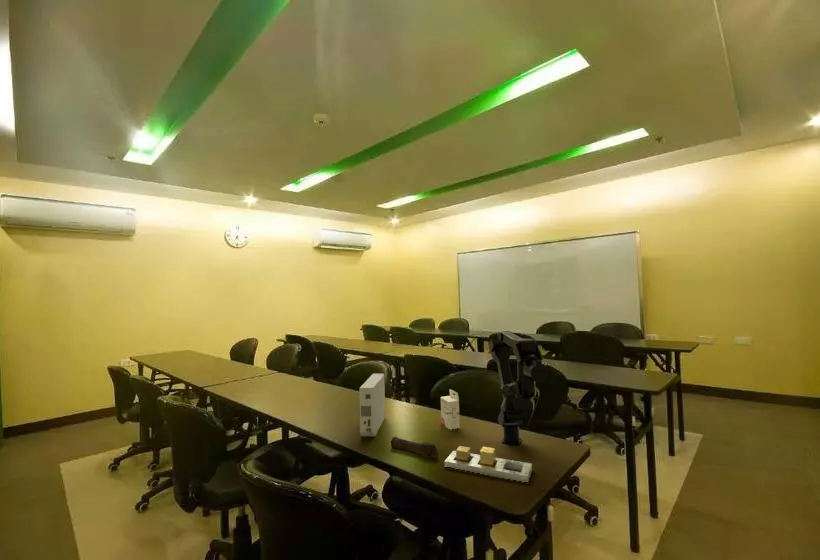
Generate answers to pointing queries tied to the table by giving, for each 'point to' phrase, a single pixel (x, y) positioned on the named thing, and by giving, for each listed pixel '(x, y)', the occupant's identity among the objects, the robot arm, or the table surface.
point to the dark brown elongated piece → (415, 447)
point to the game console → (372, 405)
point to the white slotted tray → (472, 463)
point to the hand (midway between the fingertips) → (527, 422)
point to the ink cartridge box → (450, 411)
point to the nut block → (487, 457)
